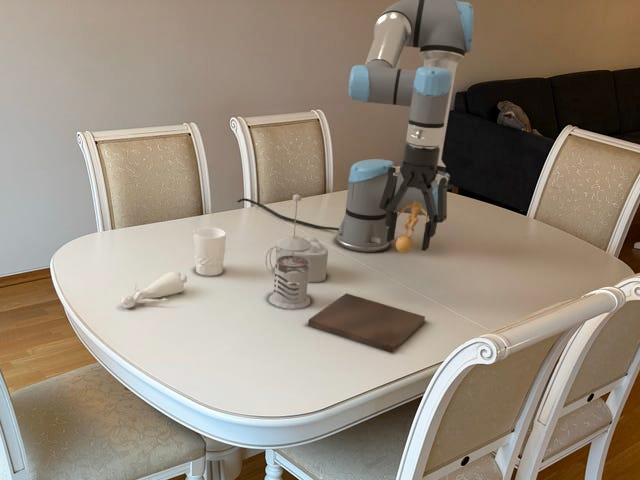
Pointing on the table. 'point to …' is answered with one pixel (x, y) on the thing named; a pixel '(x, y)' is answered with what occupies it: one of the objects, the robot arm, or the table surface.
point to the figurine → (405, 242)
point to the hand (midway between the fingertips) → (407, 244)
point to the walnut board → (367, 322)
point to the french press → (289, 293)
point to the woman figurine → (156, 290)
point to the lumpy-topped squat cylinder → (310, 260)
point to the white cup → (209, 250)
